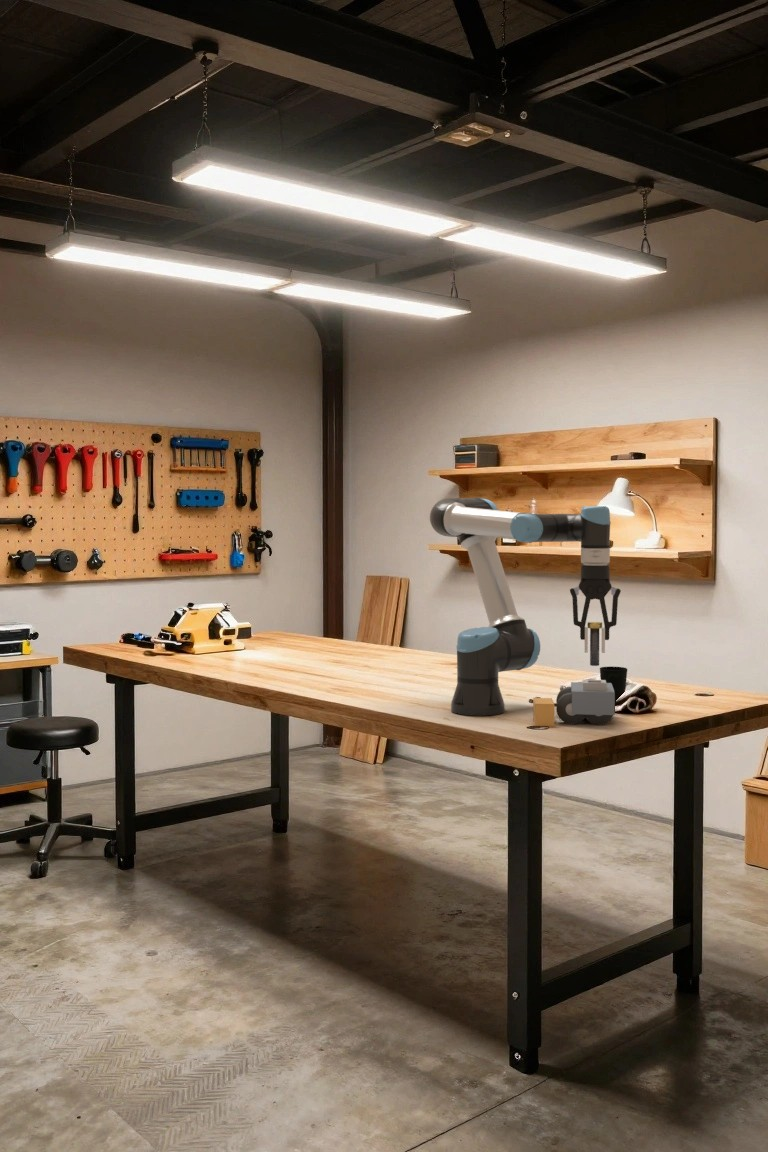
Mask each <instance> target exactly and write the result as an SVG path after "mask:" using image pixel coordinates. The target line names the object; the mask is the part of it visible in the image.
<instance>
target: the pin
mask: <svg viewBox="0 0 768 1152" xmlns="http://www.w3.org/2000/svg"><path fill="white" fill-rule="evenodd" d="M587 627H588V629H589V633H590V634H589V666H593V667H597V666H598V667H599V666H600V629H602V627H603V622H601V621H587Z"/></svg>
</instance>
